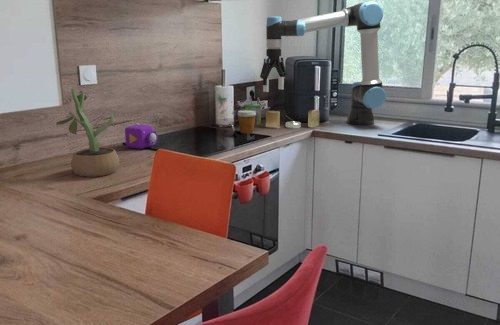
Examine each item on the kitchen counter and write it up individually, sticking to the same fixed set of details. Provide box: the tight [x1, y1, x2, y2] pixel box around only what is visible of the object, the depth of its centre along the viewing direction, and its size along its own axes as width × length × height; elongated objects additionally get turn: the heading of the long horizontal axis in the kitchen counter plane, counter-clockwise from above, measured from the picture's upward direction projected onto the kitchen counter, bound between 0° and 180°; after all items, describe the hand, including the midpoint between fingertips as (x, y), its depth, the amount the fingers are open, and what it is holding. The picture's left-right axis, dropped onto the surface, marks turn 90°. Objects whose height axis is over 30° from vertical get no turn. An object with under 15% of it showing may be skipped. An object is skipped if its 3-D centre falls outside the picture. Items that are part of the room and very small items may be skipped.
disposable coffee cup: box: [236, 109, 256, 135], centre depth 237 cm, size 10×10×12 cm
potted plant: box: [55, 88, 120, 178], centre depth 172 cm, size 22×18×30 cm
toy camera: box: [124, 122, 158, 150], centre depth 211 cm, size 11×14×10 cm
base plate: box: [285, 120, 302, 129], centre depth 251 cm, size 26×16×4 cm, turn 96°
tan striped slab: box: [265, 110, 281, 129], centre depth 249 cm, size 7×2×9 cm, turn 66°
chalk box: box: [243, 98, 262, 126], centre depth 262 cm, size 9×9×15 cm
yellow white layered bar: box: [307, 109, 320, 128], centre depth 252 cm, size 7×2×9 cm, turn 137°
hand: (273, 90), depth 246 cm, fingers open, 13 cm apart
